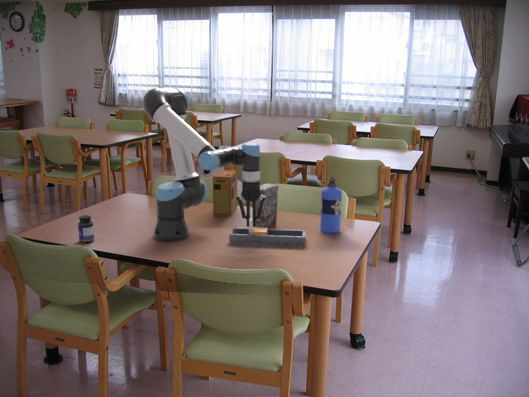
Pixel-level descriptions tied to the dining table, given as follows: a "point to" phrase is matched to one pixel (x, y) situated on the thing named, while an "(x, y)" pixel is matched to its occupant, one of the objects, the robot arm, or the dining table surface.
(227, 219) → the dining table surface
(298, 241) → the chute
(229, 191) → the box
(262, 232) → the block
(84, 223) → the pill bottle
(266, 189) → the stone block
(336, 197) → the water bottle
